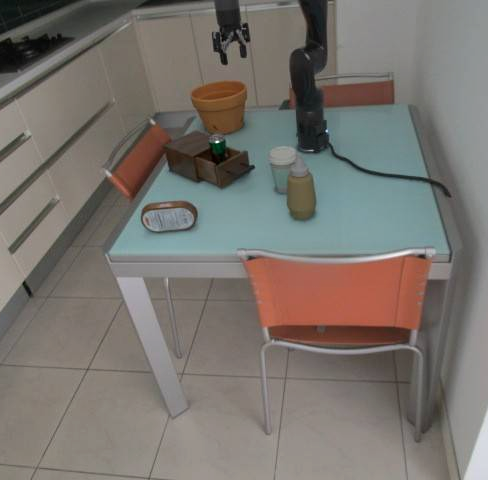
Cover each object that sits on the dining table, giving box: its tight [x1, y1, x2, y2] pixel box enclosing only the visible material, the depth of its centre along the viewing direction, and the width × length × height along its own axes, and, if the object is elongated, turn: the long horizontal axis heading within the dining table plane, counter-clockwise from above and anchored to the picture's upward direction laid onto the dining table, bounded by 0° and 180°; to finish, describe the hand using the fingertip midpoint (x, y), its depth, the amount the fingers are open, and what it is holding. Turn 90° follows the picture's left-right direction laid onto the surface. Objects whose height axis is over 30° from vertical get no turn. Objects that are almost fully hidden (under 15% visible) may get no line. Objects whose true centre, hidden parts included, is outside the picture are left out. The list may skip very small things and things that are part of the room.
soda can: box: [209, 133, 229, 166], centre depth 143 cm, size 5×5×12 cm
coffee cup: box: [267, 145, 298, 194], centre depth 135 cm, size 8×8×12 cm
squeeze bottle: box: [286, 152, 318, 221], centre depth 121 cm, size 8×8×18 cm
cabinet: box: [163, 129, 212, 184], centre depth 152 cm, size 15×14×9 cm
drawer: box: [195, 145, 256, 190], centre depth 144 cm, size 19×12×7 cm, turn 47°
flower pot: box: [189, 80, 248, 135], centre depth 176 cm, size 21×21×15 cm
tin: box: [140, 199, 199, 233], centre depth 124 cm, size 15×3×8 cm, turn 92°
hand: (234, 61), depth 152 cm, fingers open, 8 cm apart
